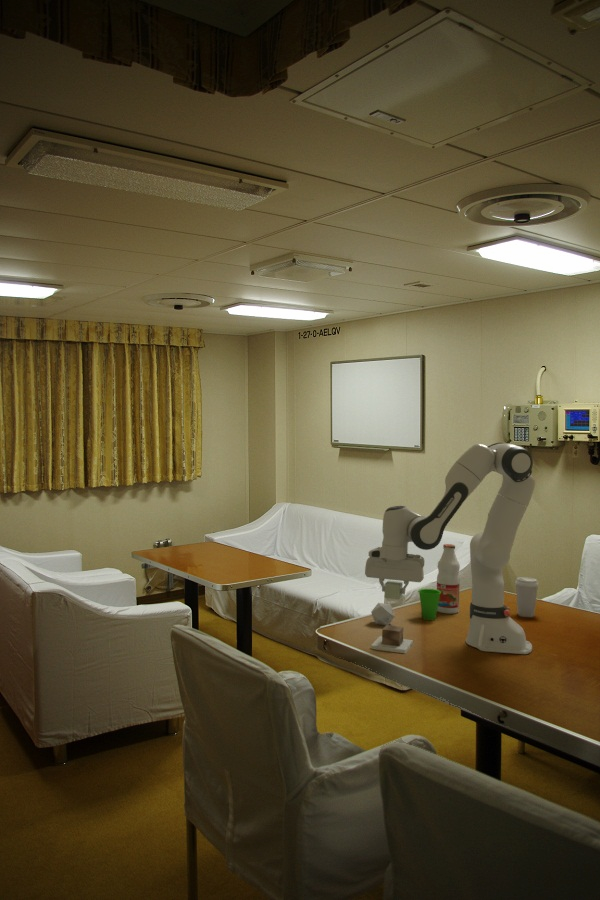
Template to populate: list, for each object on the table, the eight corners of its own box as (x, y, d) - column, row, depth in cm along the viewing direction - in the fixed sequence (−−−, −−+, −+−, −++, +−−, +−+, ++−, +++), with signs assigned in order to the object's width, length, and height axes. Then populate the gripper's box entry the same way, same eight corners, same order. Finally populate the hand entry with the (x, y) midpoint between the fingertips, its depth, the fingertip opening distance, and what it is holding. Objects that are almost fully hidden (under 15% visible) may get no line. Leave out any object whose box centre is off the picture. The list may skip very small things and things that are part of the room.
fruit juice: (463, 611, 284) (464, 545, 283) (451, 615, 277) (452, 547, 276) (443, 607, 290) (445, 542, 290) (431, 610, 284) (433, 544, 283)
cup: (423, 614, 278) (424, 587, 278) (444, 618, 272) (444, 591, 272) (413, 618, 270) (414, 591, 270) (434, 622, 265) (435, 595, 265)
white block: (380, 629, 256) (396, 609, 256) (364, 615, 260) (379, 595, 261) (386, 632, 263) (401, 612, 263) (370, 618, 267) (385, 599, 268)
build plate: (412, 643, 238) (413, 639, 238) (405, 653, 226) (405, 649, 226) (379, 639, 242) (379, 635, 242) (371, 648, 231) (371, 644, 231)
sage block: (402, 596, 235) (402, 582, 235) (399, 599, 231) (399, 584, 231) (388, 594, 237) (388, 580, 237) (384, 597, 232) (385, 583, 232)
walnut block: (403, 641, 236) (403, 627, 236) (399, 646, 230) (399, 631, 230) (386, 639, 238) (386, 624, 238) (382, 643, 232) (382, 629, 232)
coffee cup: (511, 611, 285) (512, 576, 285) (535, 612, 284) (536, 577, 284) (516, 617, 276) (517, 581, 275) (540, 618, 274) (541, 582, 274)
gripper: (426, 553, 233) (425, 593, 233) (369, 548, 240) (368, 587, 240) (422, 556, 227) (421, 597, 227) (364, 551, 234) (363, 591, 235)
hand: (393, 592), depth 234 cm, fingers closed on sage block, 5 cm apart
